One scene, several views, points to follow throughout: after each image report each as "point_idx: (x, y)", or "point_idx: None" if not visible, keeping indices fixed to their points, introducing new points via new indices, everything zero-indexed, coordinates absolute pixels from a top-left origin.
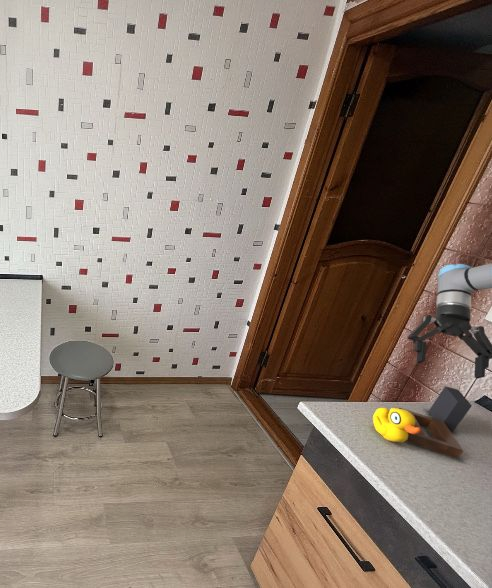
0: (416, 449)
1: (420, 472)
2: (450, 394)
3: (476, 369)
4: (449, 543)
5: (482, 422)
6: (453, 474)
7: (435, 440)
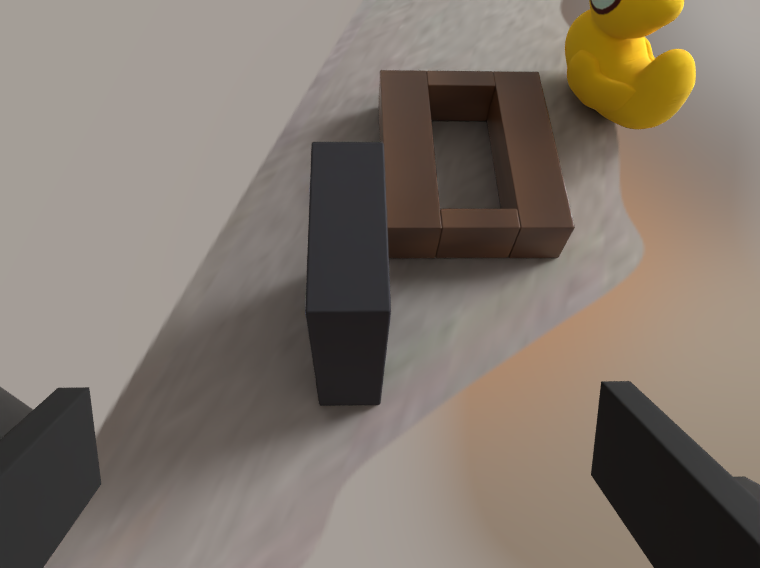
0: None
1: (515, 2)
2: (386, 225)
3: (50, 522)
4: None
5: None
6: (421, 35)
7: (467, 75)
